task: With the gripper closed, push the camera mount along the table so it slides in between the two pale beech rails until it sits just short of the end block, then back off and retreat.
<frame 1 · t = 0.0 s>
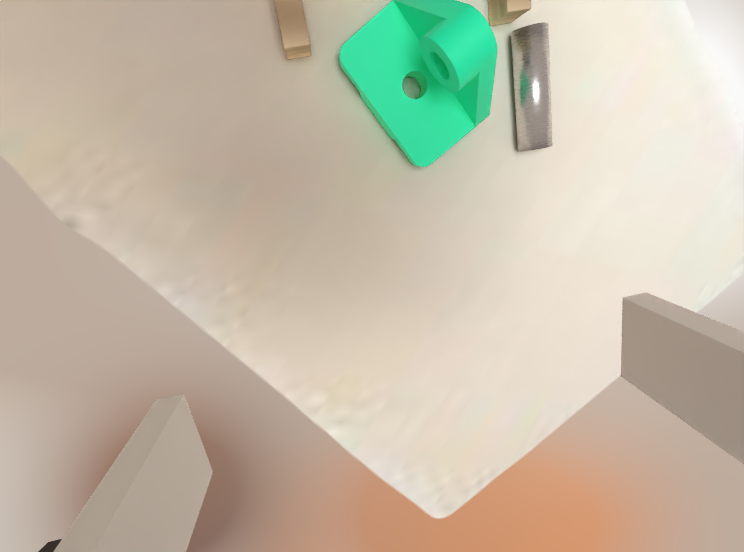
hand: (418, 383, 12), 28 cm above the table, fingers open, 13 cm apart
camera mount: (407, 90, 36), on the table
shaft stub: (524, 93, 37), on the table
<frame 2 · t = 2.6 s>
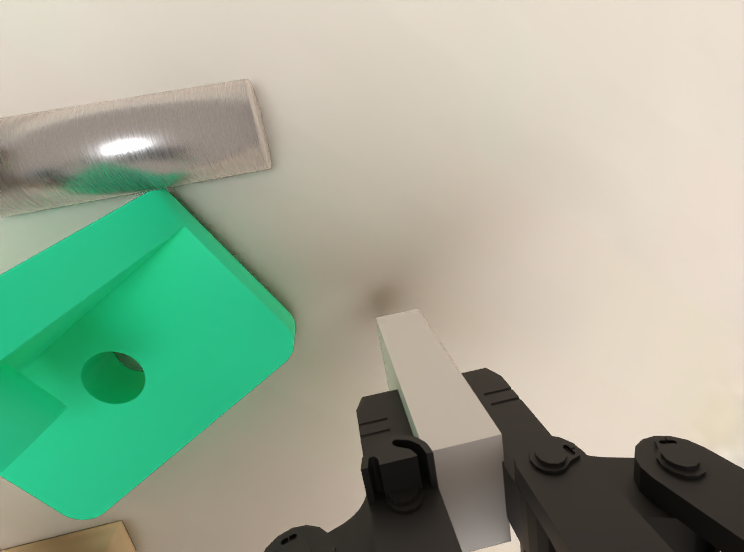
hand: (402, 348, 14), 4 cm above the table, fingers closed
camera mount: (144, 344, 17), on the table
shaft stub: (89, 105, 13), point 2 cm above the table, tilted 114°
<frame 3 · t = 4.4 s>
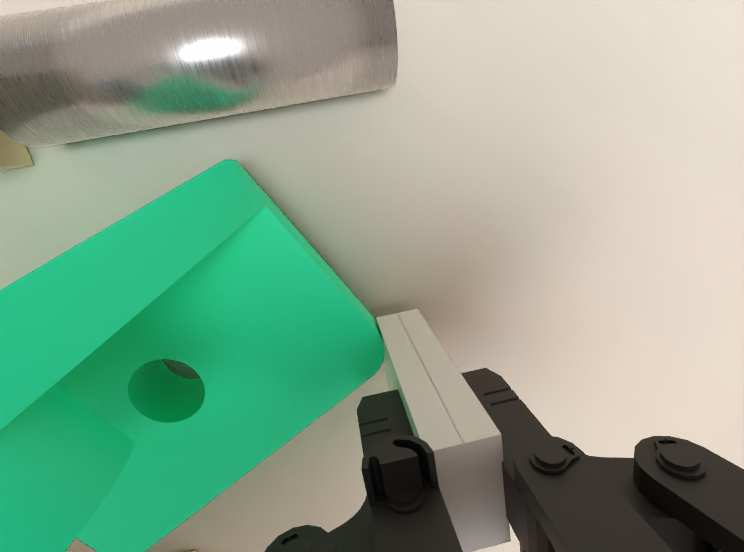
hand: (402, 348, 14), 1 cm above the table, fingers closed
camera mount: (194, 348, 15), on the table, touching gripper
shaft stub: (201, 21, 11), on the table, tilted 51°
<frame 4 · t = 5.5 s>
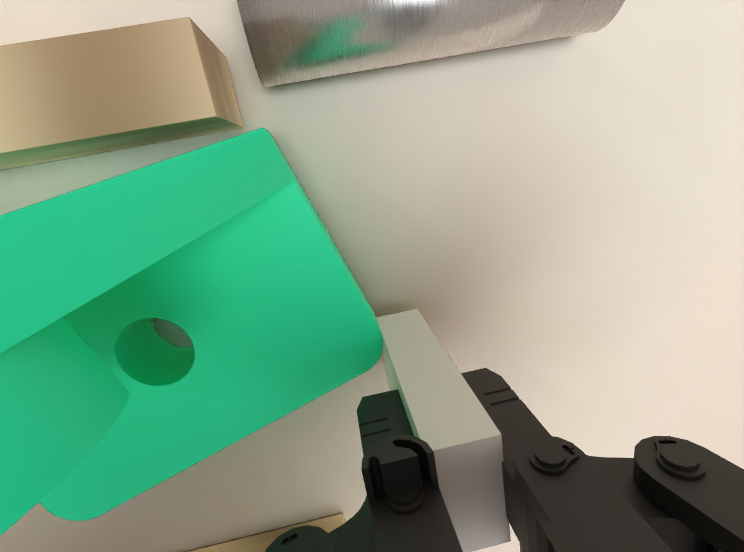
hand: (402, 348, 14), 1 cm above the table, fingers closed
camera mount: (186, 316, 14), on the table, touching gripper
u-shaped wooden frame: (53, 406, 14), on the table
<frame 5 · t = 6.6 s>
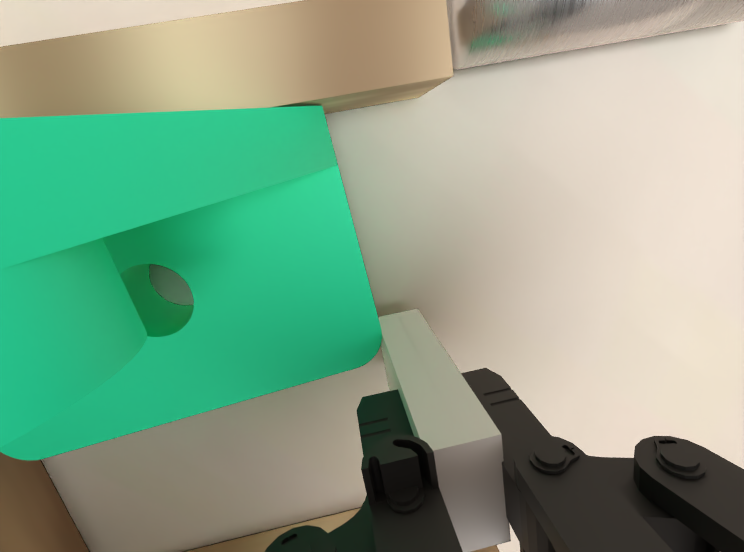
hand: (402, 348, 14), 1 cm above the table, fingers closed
camera mount: (185, 273, 14), on the table, touching gripper
u-shaped wooden frame: (212, 370, 15), on the table
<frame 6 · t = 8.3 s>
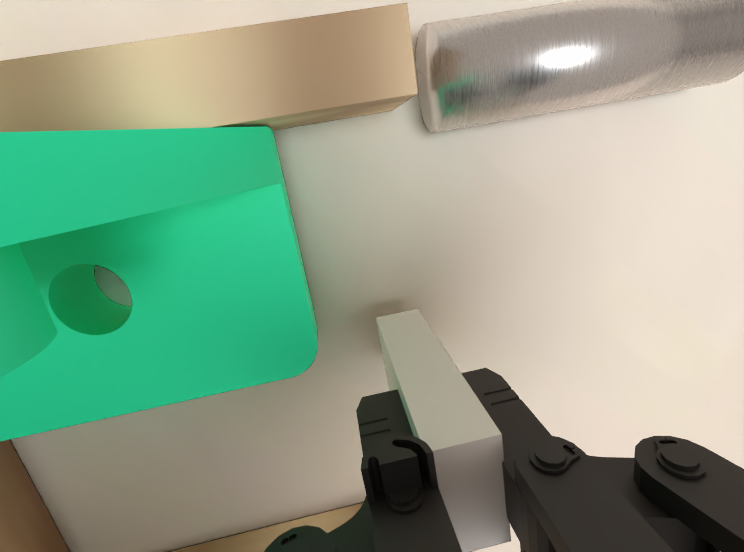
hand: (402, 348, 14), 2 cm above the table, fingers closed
camera mount: (133, 273, 14), on the table
u-shaped wooden frame: (192, 374, 15), on the table
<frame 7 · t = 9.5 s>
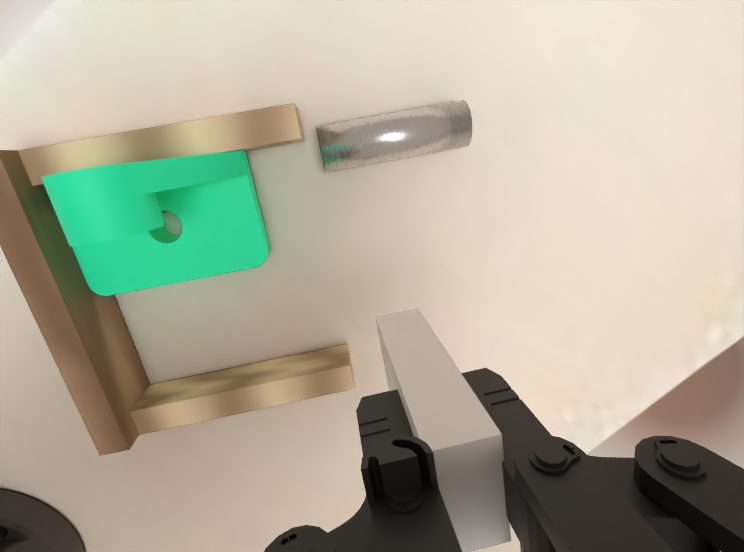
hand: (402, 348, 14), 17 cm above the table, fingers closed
camera mount: (179, 220, 28), on the table
shaft stub: (395, 126, 25), point 3 cm above the table, tilted 159°
u-shaped wooden frame: (208, 273, 29), on the table
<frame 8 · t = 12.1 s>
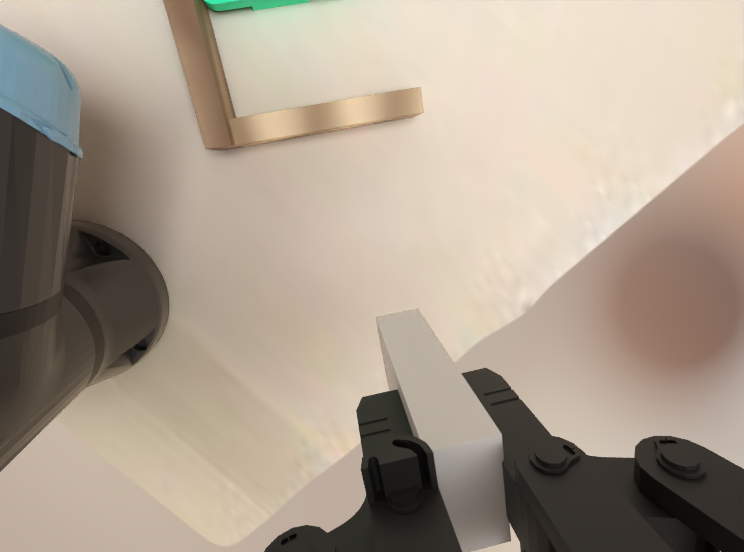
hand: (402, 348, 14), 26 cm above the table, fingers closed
u-shaped wooden frame: (294, 8, 33), on the table
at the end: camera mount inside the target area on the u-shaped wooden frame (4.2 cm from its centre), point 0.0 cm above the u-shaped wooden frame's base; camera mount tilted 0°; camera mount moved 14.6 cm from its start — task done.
